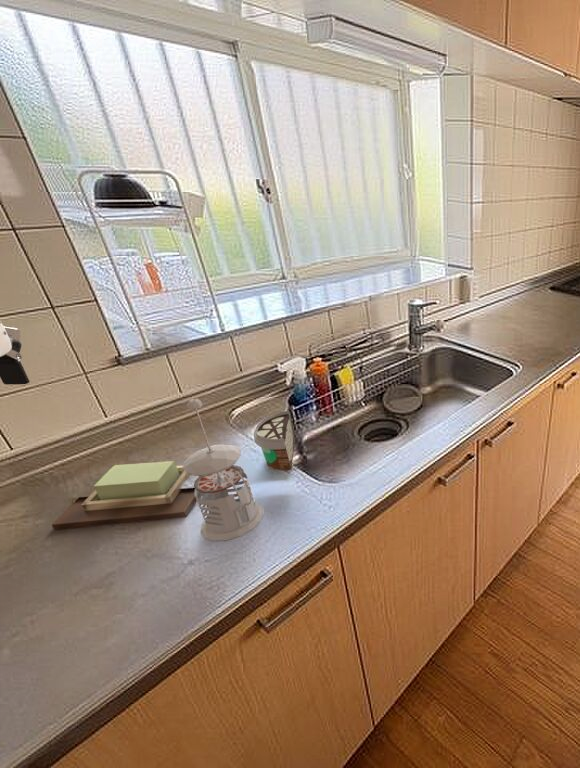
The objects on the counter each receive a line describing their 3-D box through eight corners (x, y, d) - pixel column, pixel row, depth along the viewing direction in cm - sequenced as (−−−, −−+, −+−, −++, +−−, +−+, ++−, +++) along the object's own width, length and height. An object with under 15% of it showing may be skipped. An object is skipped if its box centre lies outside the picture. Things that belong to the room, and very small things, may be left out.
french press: (242, 493, 82) (207, 379, 70) (282, 516, 77) (251, 398, 66) (188, 526, 74) (138, 404, 63) (229, 553, 69) (183, 427, 58)
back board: (54, 529, 72) (47, 518, 71) (109, 473, 85) (104, 463, 84) (186, 516, 76) (181, 505, 75) (219, 465, 89) (216, 455, 88)
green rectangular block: (102, 503, 76) (93, 486, 74) (121, 481, 81) (114, 465, 80) (164, 497, 78) (157, 480, 76) (180, 476, 83) (174, 460, 82)
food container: (266, 450, 94) (256, 412, 90) (297, 446, 96) (288, 409, 92) (258, 486, 84) (247, 445, 79) (292, 480, 86) (283, 440, 82)
